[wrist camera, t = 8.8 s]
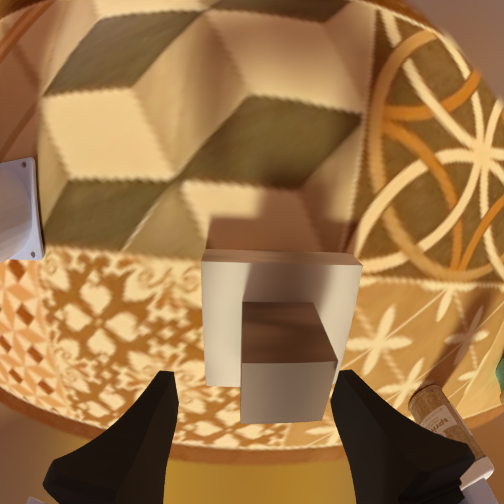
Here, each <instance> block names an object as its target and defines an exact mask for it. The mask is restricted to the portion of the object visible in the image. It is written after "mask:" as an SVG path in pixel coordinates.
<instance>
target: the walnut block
mask: <svg viewBox="0 0 504 504" xmlns="http://www.w3.org/2000/svg"><path fill="white" fill-rule="evenodd" d="M337 365H338V359H337V357H336V354H335V352H334V349H333V347H332V345H331V342H330V340H329V338H328V335H327V333H326V331H325V329H324V326H323V324H322V322H321V319H320V317H319V315H318V312H317V310H316V308H315V306H314V303H288V302H242V322H241V374H240V420H241V424H268V423H295V422H310V421H322V418H323V415H324V411H325V408H326V405H327V401H328V398H329V394H330V391H331V387H332V383H333V380H334V376H335V372H336V368H337Z"/></svg>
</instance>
